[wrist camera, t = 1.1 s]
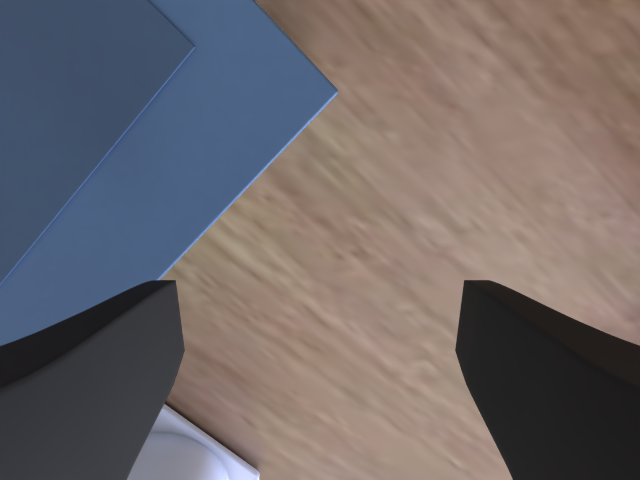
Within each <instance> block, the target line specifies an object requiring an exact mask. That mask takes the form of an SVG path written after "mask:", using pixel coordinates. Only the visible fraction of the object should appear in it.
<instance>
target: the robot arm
mask: <svg viewBox="0 0 640 480" xmlns="http://www.w3.org/2000/svg"><path fill="white" fill-rule="evenodd" d="M184 351H185V350H184V342H183V334H182V326H181V318H180V311H179V303H178V295H177V287H176V280H151V281H148V282H144V283H142V284H139V285H137V286H135V287H132V288H130V289H128V290H126V291H124V292H122V293H120V294H118V295H116V296H114V297H112V298H109V299H107V300H105V301H103V302H101V303H99V304H97V305H95V306H93V307H91V308H89V309H87V310H85V311H83V312H81V313H78V314H76V315H74V316H72V317H69V318H67V319H65V320H63V321H61V322H58V323H56V324H54V325H52V326H49V327H47V328H45V329H43V330H40V331H38V332H36V333H33V334H31V335H28V336H26V337H23V338H21V339H18V340H16V341H13V342H10V343H7V344H4V345H2V346H0V480H259V476H260V474H259V472H258V471H257V470H256V469H255V468H253V467H252V466H251V465H249V464H248V463H246V462H245V461H244V460H242V459H241V458H239V457H238V456H237V455H235V454H234V453H232V452H231V451H230V450H228V449H227V448H225V447H224V446H223V445H221V444H220V443H218V442H217V441H216V440H214V439H213V438H212V437H210V436H209V435H207V434H206V433H205V432H203V431H202V430H200V429H199V428H198V427H196V426H195V425H193V424H192V423H191V422H189V421H188V420H186V419H185V418H184V417H182V416H181V415H179V414H178V413H177V412H175V411H174V410H172V409H171V408H170V407H168V406H167V405H165V404H164V403H165V401H166V399H167V397H168V395H169V393H170V391H171V389H172V387H173V384H174V382H175V379H176V376H177V373H178V370H179V367H180V364H181V360H182V357H183V354H184ZM455 351H456V354H457V357H458V360H459V364H460V367H461V370H462V373H463V376H464V379H465V382H466V385H467V387H468V389H469V391H470V393H471V395H472V397H473V399H474V401H475V403H476V405H477V407H478V409H479V411H480V413H481V415H482V417H483V419H484V421H485V423H486V425H487V427H488V429H489V431H490V433H491V435H492V437H493V439H494V441H495V443H496V445H497V447H498V449H499V451H500V453H501V455H502V457H503V459H504V461H505V463H506V465H507V467H508V469H509V472H510V474H511V476H512V478H513V480H640V346H639V345H636V344H633V343H630V342H628V341H625V340H622V339H620V338H617V337H615V336H612V335H610V334H607V333H605V332H602V331H600V330H598V329H595V328H593V327H591V326H588V325H586V324H584V323H581V322H579V321H577V320H575V319H573V318H570V317H568V316H566V315H564V314H562V313H560V312H558V311H555V310H553V309H551V308H549V307H547V306H545V305H543V304H541V303H539V302H537V301H535V300H533V299H531V298H529V297H527V296H525V295H523V294H521V293H518V292H516V291H514V290H512V289H510V288H508V287H506V286H503V285H501V284H498V283H496V282H493V281H489V280H464V287H463V295H462V303H461V310H460V318H459V326H458V334H457V342H456V350H455Z"/></svg>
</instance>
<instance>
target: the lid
mask: <svg viewBox="0 0 640 480" xmlns="http://www.w3.org/2000/svg"><path fill="white" fill-rule="evenodd" d="M337 94H338V90H337V89H336V87H335V86H334V85H333V84H332V83H331V82H330V81H329V80H328V79H327V78H326V77H325V76H324V75H323V74H322V72H321V71H320V70H319V69H318V68H317V67H316V66H315V65H314V64H313V63H312V62H311V61H310V60H309V59H308V57H307V56H306V55H305V54H304V53H303V52H302V51H301V50H300V49H299V48H298V47H297V46H296V45H295V44H294V42H293V41H292V40H291V39H290V38H289V37H288V36H287V35H286V34H285V33H284V32H283V31H282V30H281V29H280V27H279V26H278V25H277V24H276V23H275V22H274V21H273V20H272V19H271V18H270V17H269V16H268V15H267V14H266V12H265V11H264V10H263V9H262V8H261V7H260V6H259V5H258V4H257V3H256V2H255V1H254V0H0V346H2V345H4V344H7V343H10V342H13V341H16V340H18V339H21V338H23V337H26V336H28V335H31V334H33V333H36V332H38V331H40V330H43V329H45V328H47V327H49V326H52V325H54V324H56V323H58V322H61V321H63V320H65V319H67V318H69V317H72V316H74V315H76V314H78V313H81V312H83V311H85V310H87V309H89V308H91V307H93V306H95V305H97V304H99V303H101V302H103V301H105V300H107V299H109V298H112V297H114V296H116V295H118V294H120V293H122V292H124V291H126V290H128V289H130V288H132V287H135V286H137V285H139V284H142V283H144V282H148V281H151V280H160V279H161V278H162V277H163V276H164V275H165V274H166V272H167V271H168V270H169V269H170V268H171V267H172V266H173V265H174V264H175V263H176V262H177V261H178V260H179V259H180V258H181V257H182V256H183V255H184V254H185V253H186V252H187V251H188V250H189V248H190V247H191V246H192V245H193V244H194V243H195V242H196V241H197V240H198V239H199V238H200V237H201V236H202V235H203V234H204V233H205V232H206V231H207V230H208V229H209V228H210V227H211V225H212V224H213V223H214V222H215V221H216V220H217V219H218V218H219V217H220V216H221V215H222V214H223V213H224V212H225V211H226V210H227V209H228V208H229V207H230V206H231V205H232V204H233V203H234V201H235V200H236V199H237V198H238V197H239V196H240V195H241V194H242V193H243V192H244V191H245V190H246V189H247V188H248V187H249V186H250V185H251V184H252V183H253V182H254V181H255V180H256V179H257V177H258V176H259V175H260V174H261V173H262V172H263V171H264V170H265V169H266V168H267V167H268V166H269V165H270V164H271V163H272V162H273V161H274V160H275V159H276V158H277V157H278V156H279V155H280V153H281V152H282V151H283V150H284V149H285V148H286V147H287V146H288V145H289V144H290V143H291V142H292V141H293V140H294V139H295V138H296V137H297V136H298V135H299V134H300V133H301V132H302V131H303V129H304V128H305V127H306V126H307V125H308V124H309V123H310V122H311V121H312V120H313V119H314V118H315V117H316V116H317V115H318V114H319V113H320V112H321V111H322V110H323V109H324V108H325V106H326V105H327V104H328V103H329V102H330V101H331V100H332V99H333V98H334V97H335V96H336V95H337Z"/></svg>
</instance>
